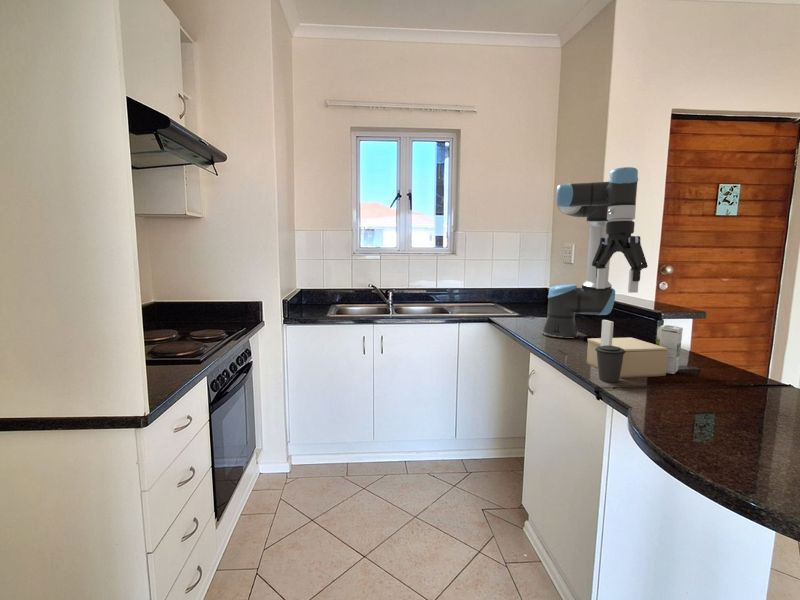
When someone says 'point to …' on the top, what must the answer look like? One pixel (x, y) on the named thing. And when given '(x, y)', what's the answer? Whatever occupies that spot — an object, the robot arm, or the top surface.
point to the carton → (635, 362)
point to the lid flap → (622, 340)
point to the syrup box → (670, 345)
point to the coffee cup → (609, 362)
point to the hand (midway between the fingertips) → (615, 290)
